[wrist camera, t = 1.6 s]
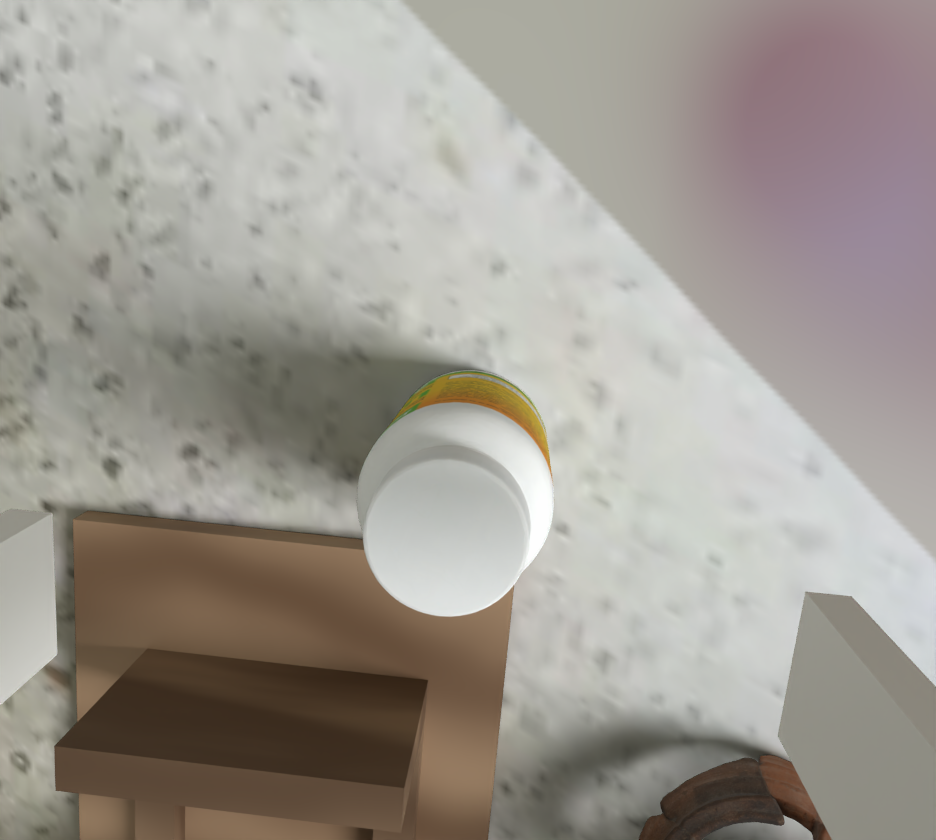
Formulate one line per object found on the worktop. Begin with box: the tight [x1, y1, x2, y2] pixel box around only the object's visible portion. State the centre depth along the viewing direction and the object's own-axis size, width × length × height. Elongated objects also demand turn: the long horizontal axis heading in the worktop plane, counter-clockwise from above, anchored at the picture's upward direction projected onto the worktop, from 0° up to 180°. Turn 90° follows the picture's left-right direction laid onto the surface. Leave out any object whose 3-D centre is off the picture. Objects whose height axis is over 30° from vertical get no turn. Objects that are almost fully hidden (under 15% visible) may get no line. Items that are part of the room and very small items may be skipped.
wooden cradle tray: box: [54, 511, 514, 840], centre depth 28 cm, size 20×16×7 cm
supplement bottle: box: [357, 370, 554, 617], centre depth 23 cm, size 5×5×10 cm
